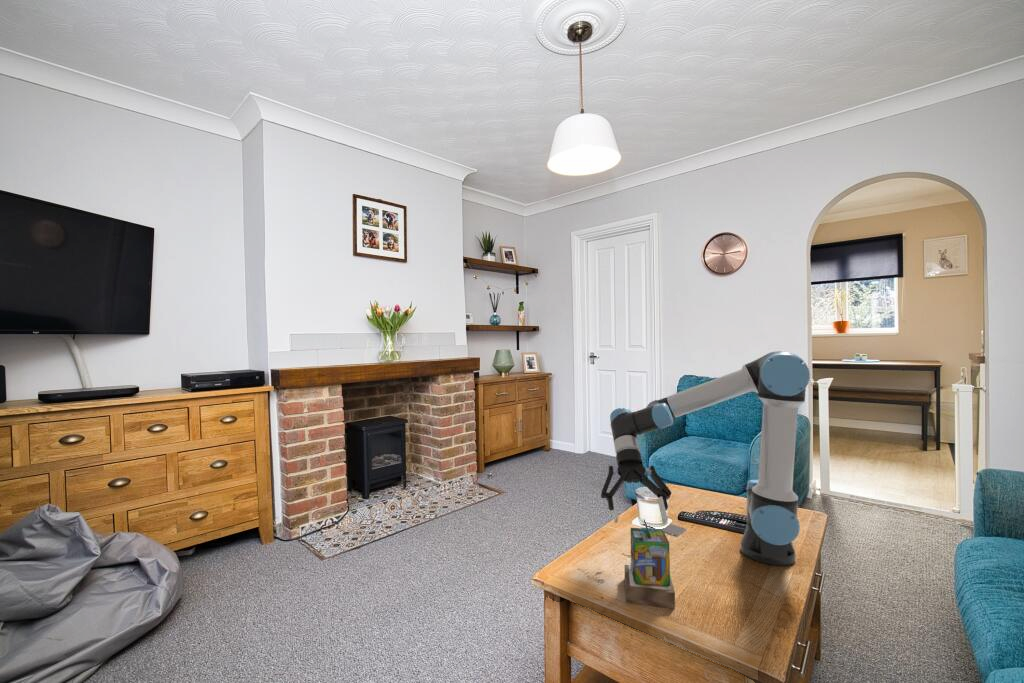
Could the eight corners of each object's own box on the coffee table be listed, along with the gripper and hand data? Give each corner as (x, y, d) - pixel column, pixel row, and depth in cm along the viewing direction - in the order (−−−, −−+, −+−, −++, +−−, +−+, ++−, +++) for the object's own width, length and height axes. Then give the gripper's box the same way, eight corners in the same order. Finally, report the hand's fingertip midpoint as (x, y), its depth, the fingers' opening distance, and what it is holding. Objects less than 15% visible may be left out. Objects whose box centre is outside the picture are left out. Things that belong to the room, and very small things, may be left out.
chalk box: (670, 587, 116) (670, 530, 116) (634, 584, 117) (634, 528, 117) (663, 569, 125) (663, 516, 125) (630, 567, 127) (629, 514, 126)
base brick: (668, 583, 126) (668, 568, 126) (674, 608, 114) (674, 591, 114) (624, 578, 129) (624, 563, 128) (626, 602, 117) (626, 586, 117)
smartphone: (649, 517, 172) (687, 528, 160) (649, 519, 172) (687, 531, 160) (639, 522, 167) (677, 534, 155) (639, 524, 167) (677, 537, 155)
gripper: (665, 459, 143) (682, 526, 128) (587, 459, 144) (594, 526, 129) (670, 447, 138) (689, 515, 123) (589, 447, 138) (597, 515, 124)
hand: (640, 521), depth 126 cm, fingers open, 13 cm apart
